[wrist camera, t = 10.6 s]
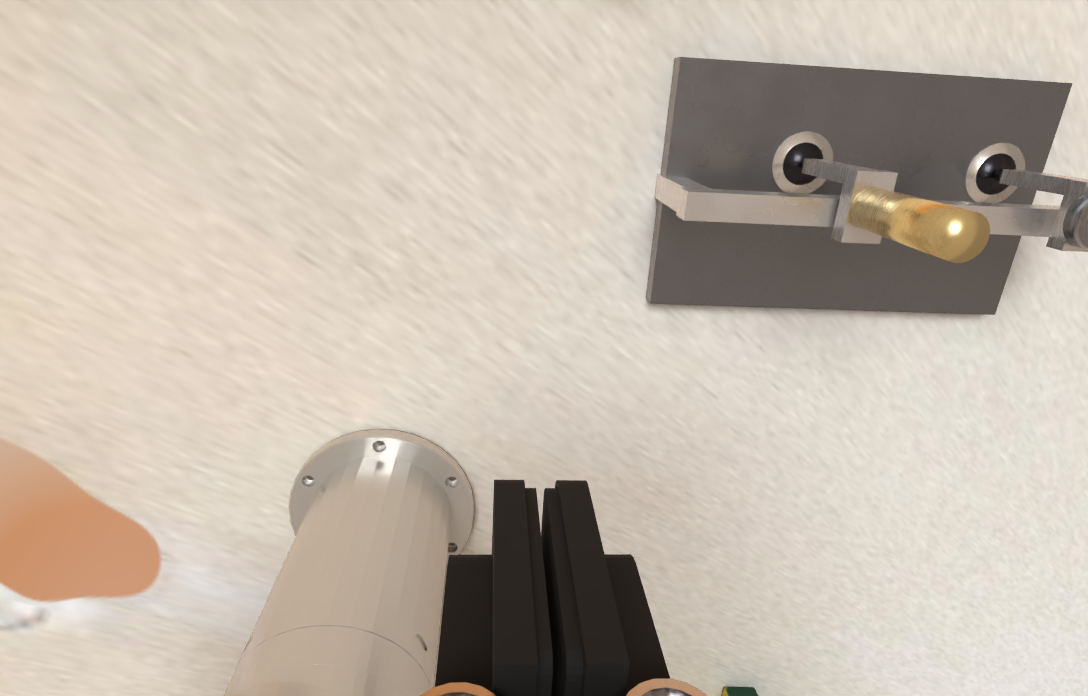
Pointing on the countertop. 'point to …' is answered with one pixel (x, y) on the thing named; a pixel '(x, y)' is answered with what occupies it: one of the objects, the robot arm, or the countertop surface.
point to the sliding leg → (898, 214)
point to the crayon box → (738, 691)
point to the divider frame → (1069, 227)
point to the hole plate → (848, 137)
